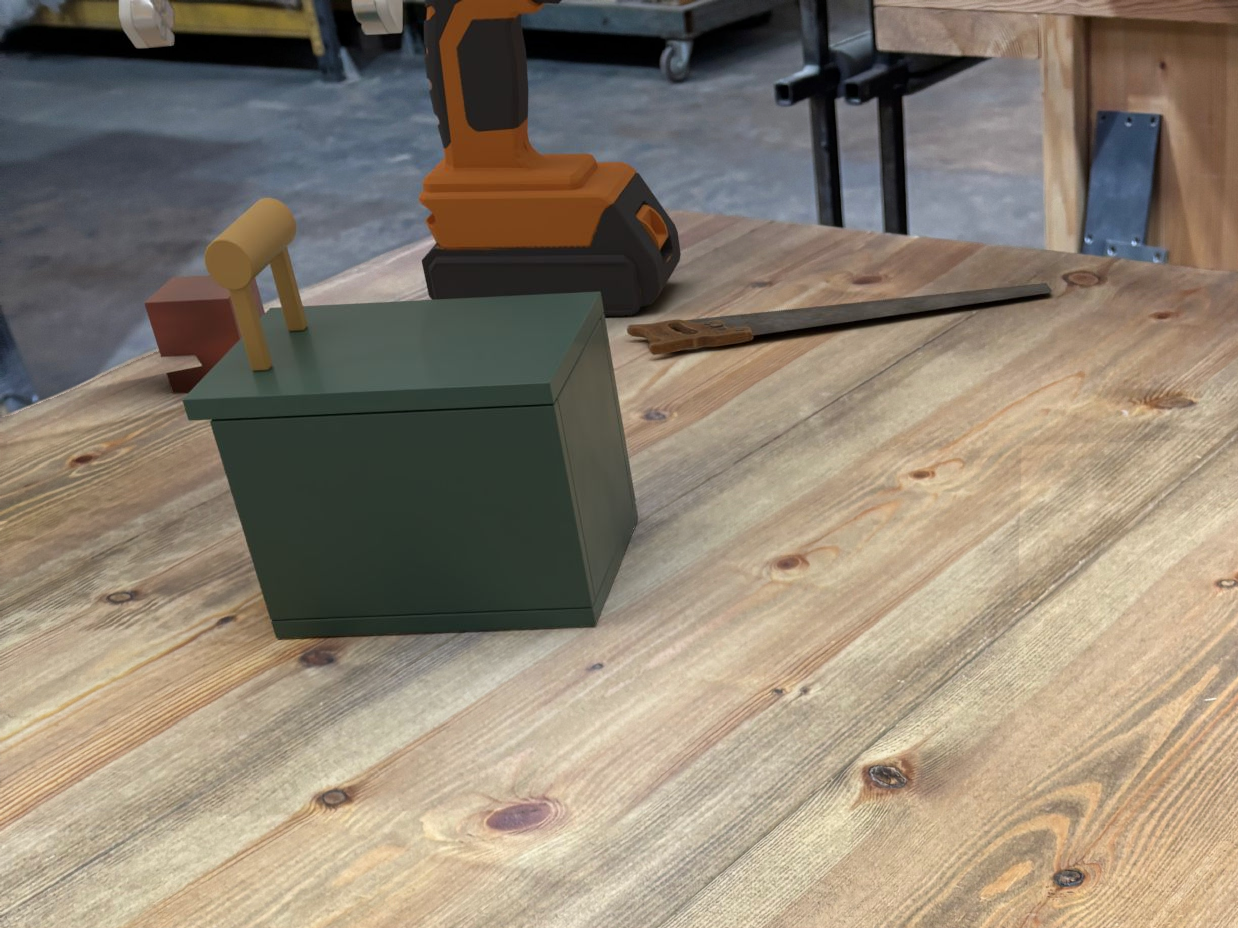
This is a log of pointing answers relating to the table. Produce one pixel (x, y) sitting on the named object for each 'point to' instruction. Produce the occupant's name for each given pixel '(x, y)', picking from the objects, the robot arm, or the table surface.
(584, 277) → the power drill
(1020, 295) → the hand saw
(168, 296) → the block
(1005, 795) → the table surface
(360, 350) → the lid
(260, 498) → the chest
